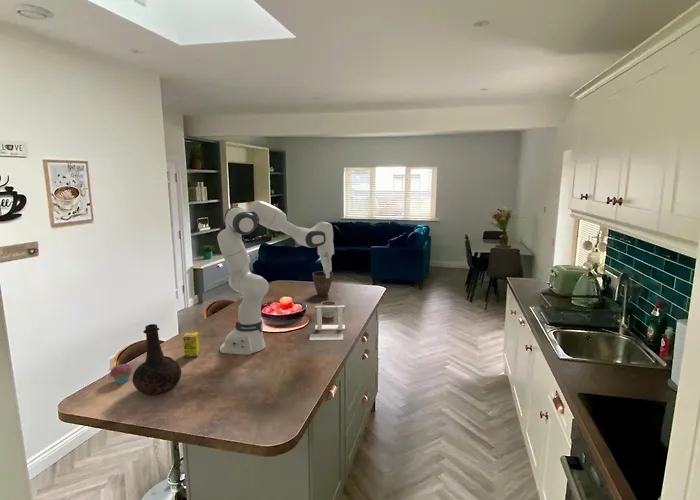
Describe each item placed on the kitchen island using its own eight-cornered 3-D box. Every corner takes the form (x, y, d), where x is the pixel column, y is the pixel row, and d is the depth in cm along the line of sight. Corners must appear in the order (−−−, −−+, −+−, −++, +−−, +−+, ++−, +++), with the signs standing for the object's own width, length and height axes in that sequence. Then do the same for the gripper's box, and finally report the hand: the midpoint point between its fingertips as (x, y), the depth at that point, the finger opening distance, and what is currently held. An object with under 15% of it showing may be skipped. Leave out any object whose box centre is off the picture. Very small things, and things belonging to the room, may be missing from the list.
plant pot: (325, 290, 316) (324, 270, 313) (337, 294, 305) (336, 273, 302) (308, 294, 307) (308, 273, 304) (320, 298, 295) (320, 277, 293)
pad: (309, 340, 221) (309, 339, 221) (310, 334, 229) (310, 334, 229) (343, 340, 221) (343, 339, 221) (343, 334, 229) (343, 333, 229)
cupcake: (118, 387, 173) (115, 360, 171) (107, 382, 177) (103, 356, 175) (137, 379, 180) (135, 353, 178) (126, 374, 185) (123, 348, 182)
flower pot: (318, 317, 256) (318, 304, 255) (325, 313, 265) (324, 300, 263) (332, 319, 253) (332, 306, 251) (338, 315, 261) (338, 301, 260)
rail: (314, 312, 236) (314, 307, 235) (315, 310, 239) (315, 305, 238) (344, 312, 236) (344, 307, 235) (344, 310, 239) (344, 305, 238)
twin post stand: (315, 330, 236) (314, 309, 234) (315, 326, 242) (315, 305, 240) (344, 329, 236) (344, 308, 234) (344, 326, 242) (344, 305, 240)
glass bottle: (190, 381, 178) (185, 319, 173) (163, 403, 161) (156, 335, 156) (154, 377, 182) (148, 316, 177) (124, 398, 165) (116, 331, 160)
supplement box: (184, 358, 200) (182, 337, 198) (187, 353, 206) (185, 332, 204) (197, 357, 201) (195, 336, 199) (199, 352, 207) (198, 331, 205)
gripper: (334, 254, 215) (335, 280, 218) (329, 247, 235) (330, 270, 238) (321, 255, 214) (323, 281, 217) (318, 247, 234) (319, 271, 237)
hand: (326, 275), depth 228 cm, fingers open, 8 cm apart
